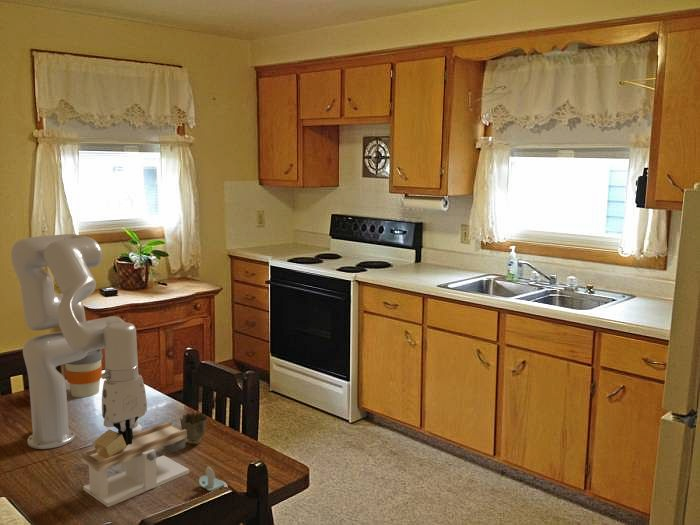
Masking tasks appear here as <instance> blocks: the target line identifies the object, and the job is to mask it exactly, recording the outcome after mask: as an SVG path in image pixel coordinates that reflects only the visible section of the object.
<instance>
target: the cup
mask: <svg viewBox="0 0 700 525" xmlns="http://www.w3.org/2000/svg"><path fill="white" fill-rule="evenodd" d="M207 418H208V417H207V414H205V413H202V412H196V413H195V412H192V414H191V413H190V412H187V413H186V414H183V415H182V417H180V418H179V420H180V427H181V430H184V429H186V430H187V438H185V440H187V443H188V445H191V446H195V445H199V444H200V443H201V441H202V440H201V439H202V438H203V436H204V435H205V433H206V429H207V428H206V427H207Z"/></svg>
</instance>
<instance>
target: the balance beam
mask: <svg viewBox="0 0 700 525" xmlns="http://www.w3.org/2000/svg"><path fill="white" fill-rule="evenodd" d="M186 438H187V430H186V429H184V430H182V429H181V430H180V429H179V428H177V427H175V426H173V425H172V421H168V422H164V423H162V424H158V425H156V426H153V427H151V428H147V429H145V430H142V431H141V432H139V433H136V434H133V439H132V444H129V445H127V447H126V448H125V449H124V450H123V451H122V452H120V453H119V454H117V455H114V456H111V457H109V458H105V457H102V456H100V455H98V453H97V451H96V449H95V447H94V448H91V449H88V450H85V451H83V452H82V451H81V453H80V458H81V462H82V463H84V464H85V465H87V466H88V467H89V466H90V467H91V468H93V469H94V470H96V471H97V472H99V471H102V470H104V469H107V470H108V469H110V468H112V467H114V466H118V465H119V464H120V463H123V462H125V461H128V460H131V459H133V458H136V457H138V456H141V455H142V453H143V452H146V451H149V450H151V449H154V450H155V451H156V450H159V449H162V448H164V449H166V451H167V450H168V451H169V452H171V453H174V452H176V451H179V450H182V449H184V448H186Z"/></svg>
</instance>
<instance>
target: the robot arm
mask: <svg viewBox="0 0 700 525" xmlns="http://www.w3.org/2000/svg"><path fill="white" fill-rule="evenodd" d="M102 260H103V250H102V248H101V245H100V244H99V242H97V241H96V240H95V239H94V238H92V237H89V236H85V235H80V234H75V233H65V234H64V233H63V234H54V235H40V236H31V237H25V238H22V239H19V240H17V241H16V242H14V243H13V245H12V247H11V250H10V261H11V264H12V268H13V270H14V272H15V275H16V277H17V279H18V281H19V285H20V291H21V292H20V294H21V301H22V308H23V310H22V311H23V317H24V320H25V321H24V322H25V324H26V327H27V328H28V329H30V330H31V331H35V332H36V331H37V332H38V331H46V330H51V329H55V328H59V329H60V331H56V332H55V331H54V332H53V331H52V332H50V333H44V334H40V335H37V336H34V337H31V338H29V339H28V340H26V341H25V342H24V344H23V346H22V355H23V359H24V360H23V361H24V363H25V367H26V372H27V377H28V378H27V379H28V387H29V389H28V390H29V398H30V400H29V401H30V412H31V413H30V415H31V426H32V434H31V435H29V437H28V438H27V440H26V441H27V445H28V446H29V447H30V448H33V449H36V450H37V449H38V450H46V449H47V450H48V449H56V448H58V447H62V446H65V445H68V443H70V442H72V441H73V440H74V439H75V437H76V433H75V431H74V430H73V429H71V428H69V414H68V412H69V410H68V399H67V398H68V397H67V396H68V395H67V385H66V384H67V382H66V377H65V376H64V375H63V374H62V373H61V372H60V371H58V370H57V367H59V366H62V365H65V364H66V363H70V362H74V361H78V360H81V359H83V358H84V357H85V356H86V355H87V353H88V352H90V351H94V350H98V349H101V350H102V349H104V361H105V362H104V365H105V368H104V372H102V374H101V380H104V381H103V385H102V390H101V415H102V419H103V426H104V427H105V428H115V429H117V433H120V434H122V436H123V438H124V441H125V443H126V445H129V444H132V439H133V432H132V428H134V425H135V422H136V421H137V420H138V418H139V419H140V418H142V417H144V416H145V414H146V412H147V411H148V402H147V394H146V387H145V383H144V379H143V376H142V374H139V363H138V342H137V338H138V337H137V329H136V326H135V325H134V324H133V323H132V322H131V323H130V322H128V321H127V322H126V321H124V320H123V319H122V318H121V317H119V316H117V315H113V316H111V315H110V316H107V317H101V318H96V319H90V320H87V319H86V318H87V317H86V312H85V311H86V310H85V307H84V303H83V301H84V300H86V299H87V298H89V297H90V296H91V295H92V294H93V293H94V292H95V290H96V287H97V281H96V279H95V278H94V276H93V274H92V272H91V271H90V269H91V268H96V267H98V266H100V265H101V263H102V262H103V261H102ZM46 267H48V269H49V270H50V272H51V274H52V276H53V277H52V276H51V274H50V273H49V272H48V271H47V270H46V269H45V268H46ZM53 279H54V280H55V283H56V284H57V286H58V288H59V290H60V292H61V293H56V291H55V285H54V280H53Z"/></svg>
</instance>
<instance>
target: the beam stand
mask: <svg viewBox="0 0 700 525" xmlns="http://www.w3.org/2000/svg"><path fill="white" fill-rule="evenodd" d="M156 454H157V453H156V450H154V449H151V450H149V451H146V452H143V453H142V455H141V456H138V457H136V458H133V459H131V460H128V461H125V462H123V463H120V464H118V471H119V472H117V473H114V474H112V475H109V476H108V471H107V470H108V468H107V469H104V470H102V471H99V472H97V471H96V470H94V469H93V468H91V467H90V466H88V476H89V477H88V478H89V483H88V484H85V485H83V487H82V488H83V491H84V492H85V493H87V494H89V495H90V496H92V497H93V498H94V499H96V500H97V501H98V502H100V503H101V504H102V505H104V506H105V507H107V508H109V507H110V508H111V507H112V506H115V505H117V504H120V503H121V502H124V501H126V500H129V499H131V498H133V497H136V496H138V495H140V494H143V493H145V492H148V491H150V490H152V489H154V488H158V487H160V486H161V485H164V484H166V483H170V482H171V481H174V480H176V479H179V478H181V477H184V476H186V475H188V474H190V469H189V468H188V467H186V466H184V465H183V464H180V463H178V462H177V461H175V460H173V459H171V458H170V457H168V456H165V454H164V455H161V456H158V457H157V456H156Z"/></svg>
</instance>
